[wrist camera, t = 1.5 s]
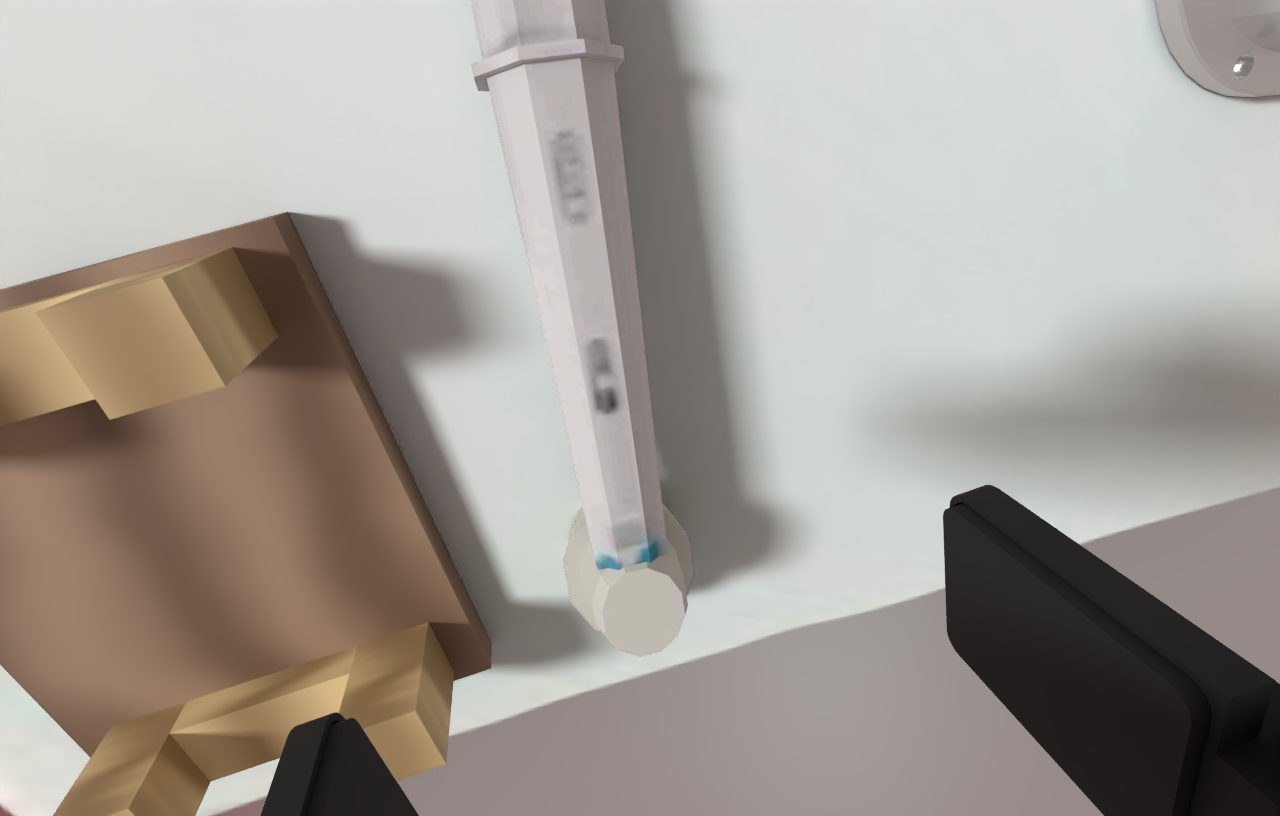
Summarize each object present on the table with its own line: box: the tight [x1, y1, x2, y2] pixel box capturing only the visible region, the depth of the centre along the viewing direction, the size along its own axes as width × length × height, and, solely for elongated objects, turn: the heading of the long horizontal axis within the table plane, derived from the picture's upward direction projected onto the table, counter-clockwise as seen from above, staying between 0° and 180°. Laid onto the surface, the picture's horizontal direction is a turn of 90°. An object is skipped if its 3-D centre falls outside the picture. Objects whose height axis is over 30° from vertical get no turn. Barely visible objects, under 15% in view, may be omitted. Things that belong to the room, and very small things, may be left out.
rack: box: [0, 212, 491, 816], centre depth 22 cm, size 16×20×6 cm
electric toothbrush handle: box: [471, 0, 694, 657], centre depth 23 cm, size 5×7×25 cm
